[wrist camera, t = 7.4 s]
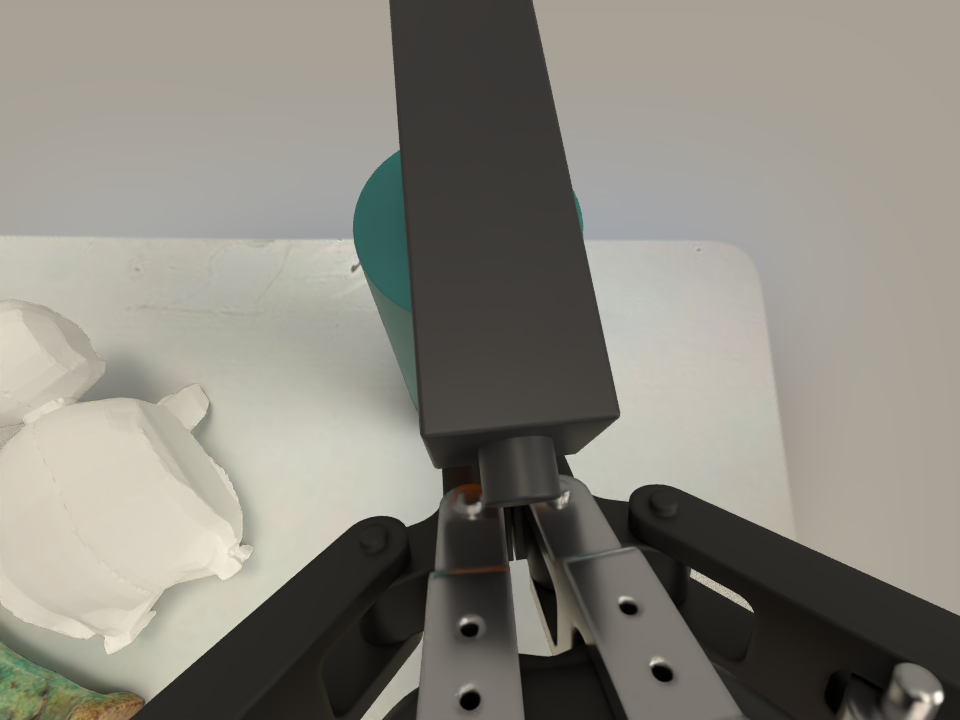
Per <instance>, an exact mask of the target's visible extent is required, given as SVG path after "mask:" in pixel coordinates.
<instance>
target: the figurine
mask: <svg viewBox="0 0 960 720" xmlns="http://www.w3.org/2000/svg"><path fill="white" fill-rule="evenodd" d="M144 704H145V700H144V699H143V698H141V697H139V696H137V695H135V694H132V693H130V692H125V691H122V692H116V693H111V694H108V695H104V694H99V693H97V692H95V691H92V690H89V689H85V688H83V687H80V686H78V685H77V684H76V683H74V682H72V681H70V680H68V679H66V678H65V677H63V676H61V675H59V674H57V673H56V672H54V671H51V670H49V669H46V668H43V667H40V666H38V665H36V664H35V663H33V662H30V661H28V660H27V659H25V658H24V657H22V656H21V655H19V654H17V653H16V652H14V651H12V650H11V649H10V648H8V647H7V646H6V645H4V644H3V643H2V642H0V720H129V719H130V718H131V717H132V716H133V715H134V714H136V713H137V712H138V711H139V710H140V709H141V708H143V707H144Z"/></svg>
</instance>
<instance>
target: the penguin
mask: <svg viewBox="0 0 960 720" xmlns="http://www.w3.org/2000/svg"><path fill="white" fill-rule="evenodd" d="M105 367H106V361H104V360H103V359H102V358H100V357H99V356H98V355H97V354H96V352H95V351H94V350H93V348H92V346H91V343H90V340H89V338H88V336H87V335H86V334H85V333H84V331H83V330H82V329H81V328H80V327H79V326H78V325H76V324H75V323H73V322H72V321H70V320H69V319H67V318H65V317H63V316H62V315H60V314H59V313H57V312H54V311H53V310H51V309H49V308H48V307H45V306H42V305H38V304H34V303H29V302H24V301H19V300H14V299H10V300H5V301H0V427H6V426H12V425H16V424H21V423H24V424H25V425H26V426H24V427H23V428H22V429H21V430H20V431H19V432H18V433H17V434H16V435H14V436H13V437H12V438H11V439H10V440H8V442H7V443H6V444H5V446H4V447H3V448H2V449H1V450H0V602H1V604H2V606H3V607H5V608H6V609H7V610H9V611H11V612H12V614H13V615H14V617H18V618H20V619H21V620H22V621H23V622H28V623H32V624H34V625H36V626H39V627H41V628H47V629H50V630H53V631H56V632H59V633H61V634H64V635H67V636H70V637H74V638H82V639H88V638H90V637H92V636H94V635H97V634H98V635H103V636H104V638H105V639H106V640H105V641H104V647H105V650H106V653H107V654H113V653H115V652H116V651H118V650H120V649H122V648H123V647H125V646H126V645H128V644H129V643H131V642H132V641H133V640H134V639H135V638H136V636H137V635H138V634H139V633H140V632H141V630H142V629H143V628H144V627H145V626H147V625H148V624H149V622H150V620H151V619H152V618H153V617H154V616H155V615H156V611H154V610H152V611H150V609H151V608H152V607H153V605H154V604H155V603H156V601H157V600H158V598H159V597H160V596H161V595H162V593H163V591H164V590H165V589H167V588H169V587H170V586H172V585H174V584H177V583H181V582H186V581H191V580H195V579H199V578H204V577H209V576H213V575H217V576H218V577H219V578H220V579H222V580H223V581H225V580H226V579H228V578H229V577H231V576H232V575H234V574H235V573H236V572H238V571H239V570H240V569H241V568H242V562H243V561H245V560H246V559H247V558H248V557H249V556H250V555H251V554H252V551H253V550H254V548H253V547H252V546H251V545H249V544H247V545H242V546H241V547H240V546H239V543H240V542H241V540H242V533H243V520H242V518H243V513H242V512H241V510H242V509H241V508H240V504H239V502H238V497H237V496H236V492H235V491H234V489H233V485H232V483H231V482H230V481H229V477H228V475H227V474H225V471H224V469H223V468H221V467H219V466H218V465H217V464H216V463H214V461H213V459H212V458H211V457H210V456H208V455H207V454H206V453H205V451H204V450H203V449H202V447H201V445H200V444H199V443H198V442H197V441H196V439H195V438H194V437H193V435H192V434H191V433H190V432H191V431H192V429H193V428H194V427H195V426H196V425H197V424H198V422H199V421H201V419H202V418H203V417H204V416H205V415H206V414H205V413H207V412H206V410H207V409H208V405H209V400H208V399H207V397H206V396H205V394H204V393H203V391H202V389H201V388H200V386H199V385H198V383H195V384H192V385H189V386H187V387H185V388H183V389H182V390H180V391H178V392H177V393H173V394H171V395H168V396H165V397H163V398H162V399H161V400H160V401H159V402H158V403H157V404H154V403H150V402H147V401H144V400H138V399H134V398H121V397H120V398H110V399H103V400H96V401H88V402H81V403H77V400H78V399H79V398H81V397H82V396H83V395H84V394H85V393H86V392H87V391H88V390H89V389H90V388H91V387H92V386H93V385H94V384H95V383H96V382H97V381H98V380H99V379H100V378H101V376H102V375H103V374H104V373H105V370H106V368H105Z"/></svg>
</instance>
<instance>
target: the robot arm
mask: <svg viewBox="0 0 960 720" xmlns="http://www.w3.org/2000/svg"><path fill="white" fill-rule="evenodd" d="M555 457H556V463H557V469H558V475H559V481H560V487H561V497H560V498H558V499H556V500H553V501H548V502H542V503H536V504H529V505H520V506H511V507H499V508H489V507H486V506H485V505H484V503H483V495H482V485H481V476H480V467H479V465H470V466H461V467H451V468H442V476H443V498H442V500H441V502H440V506H439V509H438V510H437V511H436V512H435V513H434V514H433V515H432V516H430V517H429V518H427V519H426V520H424V521H422V522H419V523H417V524H414V525H411V526H409V527H406V526H405V525H404V524H403V523H402V522H401V521H400V520H398V519H396V518H393V517H389V516H375V517H370V518H367V519H364V520H362V521H360V522H358V523H356V524H354V525H353V526H352V527H350V528H349V529H348V530H347V531H346V532H345V533H343V534H342V535H341V536H340V537H339V538H338V539H336V540H335V541H334V542H333V543H332V544H331V545H330V546H328V547H327V548H326V549H325V550H324V551H323V552H321V553H320V554H319V555H318V556H317V557H316V558H315V559H313V560H312V561H311V562H310V563H309V564H308V565H306V566H305V567H304V568H303V569H302V570H301V571H300V572H298V573H297V574H296V575H295V576H294V577H293V578H291V579H290V580H289V581H288V582H287V583H286V584H285V585H283V586H282V587H281V588H280V589H279V590H278V591H276V592H275V593H274V594H273V595H272V596H271V597H270V598H268V599H267V600H266V601H265V602H264V603H263V604H261V605H260V606H259V607H258V608H257V609H256V610H255V611H253V612H252V613H251V614H250V615H249V616H248V617H246V618H245V619H244V620H243V621H242V622H241V623H240V624H238V625H237V626H236V627H235V628H234V629H233V630H231V631H230V632H229V633H228V634H227V635H226V636H225V637H223V638H222V639H221V640H220V641H219V642H218V643H216V644H215V645H214V646H213V647H212V648H211V649H209V650H208V651H207V652H206V653H205V654H204V655H203V656H201V657H200V658H199V659H198V660H197V661H196V662H194V663H193V664H192V665H191V666H190V667H189V668H188V669H186V670H185V671H184V672H183V673H182V674H181V675H179V676H178V677H177V678H176V679H175V680H174V681H173V682H171V683H170V684H169V685H168V686H167V687H166V688H164V689H163V690H162V691H161V692H160V693H159V694H158V695H156V696H155V697H154V698H153V699H152V700H151V701H149V702H148V703H147V704H146V705H145V706H144V707H143V708H141V709H140V710H139V711H138V712H137V713H136V714H134V715H133V716H132V717H131V718H130V719H129V720H360V719H361V718H362V717H363V716H364V714H365V713H366V712H367V710H368V709H369V708H370V707H371V705H372V704H373V703H374V701H375V700H376V699H377V698H378V696H379V695H380V694H381V692H382V691H383V690H384V688H385V687H386V686H387V685H388V683H389V682H390V681H391V679H392V678H393V677H394V676H395V674H396V673H397V672H398V670H399V669H400V668H401V667H402V665H403V664H404V663H405V661H406V660H407V659H408V658H409V656H410V655H411V654H412V652H413V651H414V650H415V649H416V647H417V646H418V644H419V643H420V640H421V638H422V635H423V631H424V637H423V648H422V660H421V671H420V682H419V687H418V688H416V689H415V690H413V691H412V692H411V693H409V694H408V695H407V696H405V697H404V698H403V699H402V700H401V701H400V702H398V703H397V704H396V705H395V706H394V707H393V708H392V709H391V710H390V711H389V712H388V714H387V715H386V716H385V717H384V718H383V719H382V720H960V616H959V615H956V614H954V613H952V612H950V611H947V610H945V609H943V608H941V607H939V606H937V605H934V604H932V603H930V602H928V601H925V600H923V599H921V598H919V597H916V596H914V595H912V594H910V593H908V592H905V591H903V590H901V589H899V588H897V587H894V586H892V585H890V584H888V583H885V582H883V581H881V580H879V579H876V578H874V577H872V576H870V575H868V574H865V573H863V572H861V571H859V570H857V569H854V568H852V567H850V566H848V565H846V564H843V563H841V562H839V561H837V560H834V559H832V558H830V557H828V556H826V555H823V554H821V553H819V552H817V551H814V550H812V549H810V548H808V547H806V546H803V545H801V544H799V543H797V542H795V541H792V540H790V539H788V538H786V537H783V536H781V535H779V534H777V533H775V532H772V531H770V530H768V529H766V528H764V527H761V526H759V525H757V524H755V523H752V522H750V521H748V520H746V519H744V518H741V517H739V516H737V515H735V514H732V513H730V512H728V511H726V510H724V509H721V508H719V507H717V506H715V505H713V504H710V503H708V502H706V501H704V500H701V499H699V498H697V497H695V496H693V495H690V494H688V493H686V492H684V491H681V490H679V489H677V488H674V487H671V486H666V485H658V484H654V485H646V486H642V487H640V488H638V489H636V490H635V491H634V492H633V493H632V494H631V496H630V499H629V502H626V501H617V500H609V499H603V498H599V497H596V496H594V495H592V494H591V493H590V491H589V489H588V488H587V486H586V485H585V484H584V483H583V482H581V481H580V480H578V479H576V478H574V476H573V474H572V472H571V470H570V467H569V465H568V463H567V460H566V458H565V456H564V455H561V456H555ZM513 547H514V552H515V556H516V560H522V559H527V561H528V565H529V571H530V588H531V592H532V595H533V598H534V601H535V604H536V607H537V610H538V613H539V616H540V620H541V623H542V626H543V629H544V632H545V635H546V638H547V641H548V644H549V647H550V650H551V653H552V656H550V657H546V656H536V655H527V654H518V646H517V636H516V626H515V616H514V606H513V595H512V585H511V575H510V567H509V561H514V560H513ZM691 568H692V569H694V570H695V571H697V572H699V573H701V574H703V575H704V576H706V577H708V578H710V579H712V580H713V581H715V582H717V583H719V584H721V585H723V586H724V587H726V588H728V589H730V590H732V591H733V592H735V593H737V594H739V595H740V596H741V597H743V598H744V599H745V600H746V601H747V602H748V603H749V604H750V606H751V607H752V609H753V611H754V613H753V612H751V611H749V610H747V609H746V608H744V607H742V606H740V605H739V604H737V603H735V602H733V601H731V600H730V599H728V598H726V597H724V596H723V595H721V594H719V593H717V592H716V591H714V590H712V589H710V588H708V587H707V586H705V585H703V584H701V583H700V582H698V581H696V580H694V579H693V578H691V577H690V573H691Z"/></svg>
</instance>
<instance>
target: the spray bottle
mask: <svg viewBox="0 0 960 720" xmlns="http://www.w3.org/2000/svg"><path fill="white" fill-rule="evenodd" d="M389 1H390V2H389V3H390V16H391V31H392V45H393V59H394V74H395V88H396V101H397V115H398V130H399V144H400V150H399V151H398V152H396V153H395V154H393V155H392V156H391V157H389V158H388V159H387V160H386V161H384V162H383V163H382V164H381V165H380V166H379V167H378V168H377V169H376V170H375V172H374V173H373V174H372V176H371V177H370V178H369V180H368V181H367V183H366V184H365V186H364V188H363V190H362V192H361V194H360V197H359V200H358V202H357V205H356V209H355V214H354V221H353V235H354V244H355V248H356V252H357V255H358V258H359V261H360V264H361V266H362V269H363V271H364V274H365V277H366V279H367V282H368V285H369V287H370V290H371V292H372V295H373V298H374V300H375V303H376V306H377V308H378V311H379V313H380V316H381V319H382V321H383V324H384V327H385V329H386V332H387V335H388V337H389V340H390V342H391V345H392V348H393V350H394V353H395V356H396V358H397V361H398V363H399V366H400V369H401V371H402V374H403V377H404V379H405V382H406V384H407V387H408V390H409V392H410V395H411V398H412V400H413V403H414V405H415V407H416V410H417V411H418V413H419V425H420V435H421V437H422V440H423V442H424V444H425V447H426V449H427V451H428V454H429V456H430V458H431V461H432V463H433V465H434V467H435V468H437V469H442V468H451V467H461V466H470V465H479V467H480V476H481V485H482V495H483V503H484V505H485V506H486V507H489V508H499V507H511V506H520V505H529V504H536V503H542V502H548V501H553V500H556V499H558V498H560V497H561V487H560V481H559V475H558V469H557V463H556V457H555V456H561V455H571V454H576V453H577V452H579V451H580V450H581V449H582V448H583V447H585V446H586V445H587V444H588V443H589V442H591V441H592V440H593V439H594V438H595V437H597V436H598V435H599V434H600V433H601V432H603V431H604V430H605V429H606V428H607V427H609V426H610V425H611V424H612V423H613V422H615V421H616V420H617V419H618V418H619V417H620V410H619V405H618V400H617V395H616V391H615V386H614V381H613V377H612V372H611V367H610V363H609V358H608V353H607V349H606V344H605V339H604V334H603V330H602V325H601V320H600V316H599V311H598V306H597V302H596V297H595V292H594V287H593V283H592V278H591V273H590V269H589V264H588V259H587V255H586V250H585V245H584V240H583V220H582V213H581V209H580V206H579V202H578V199H577V197H576V195H575V193H574V191H573V189H572V184H571V179H570V175H569V170H568V165H567V161H566V156H565V151H564V147H563V142H562V137H561V133H560V128H559V123H558V118H557V114H556V109H555V105H554V100H553V95H552V90H551V85H550V81H549V76H548V72H547V67H546V62H545V57H544V53H543V48H542V43H541V39H540V34H539V29H538V25H537V20H536V15H535V11H534V6H533V1H532V0H389Z"/></svg>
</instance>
